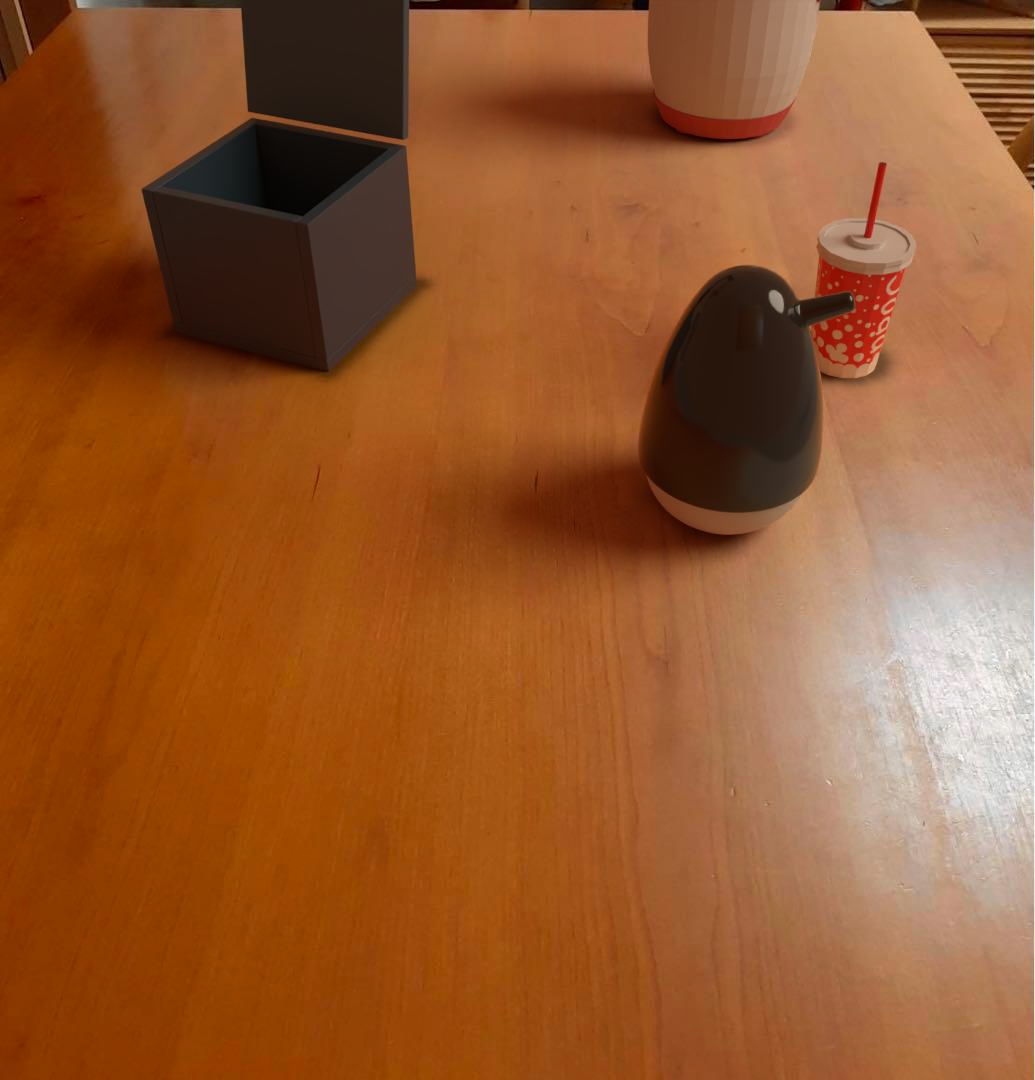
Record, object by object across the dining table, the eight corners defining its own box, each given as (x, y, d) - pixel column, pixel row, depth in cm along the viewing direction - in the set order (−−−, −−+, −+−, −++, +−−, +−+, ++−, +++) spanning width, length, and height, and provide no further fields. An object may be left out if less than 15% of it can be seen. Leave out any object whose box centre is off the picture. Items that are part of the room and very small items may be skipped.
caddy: (328, 372, 79) (307, 224, 72) (175, 332, 83) (140, 188, 76) (417, 285, 88) (406, 145, 81) (274, 253, 92) (251, 117, 85)
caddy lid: (404, -83, 73) (410, -84, 73) (233, -102, 77) (240, -103, 77) (403, 140, 80) (408, 137, 81) (247, 112, 84) (253, 109, 85)
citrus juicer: (826, 158, 104) (869, -89, 91) (632, 147, 106) (646, -96, 93) (820, 92, 115) (858, -136, 102) (645, 83, 118) (659, -142, 104)
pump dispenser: (813, 571, 64) (865, 333, 54) (625, 551, 66) (640, 315, 55) (811, 459, 72) (856, 231, 61) (642, 442, 73) (659, 218, 63)
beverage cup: (840, 395, 77) (883, 195, 67) (778, 352, 81) (810, 157, 71) (907, 367, 79) (957, 169, 70) (843, 326, 83) (882, 135, 74)
